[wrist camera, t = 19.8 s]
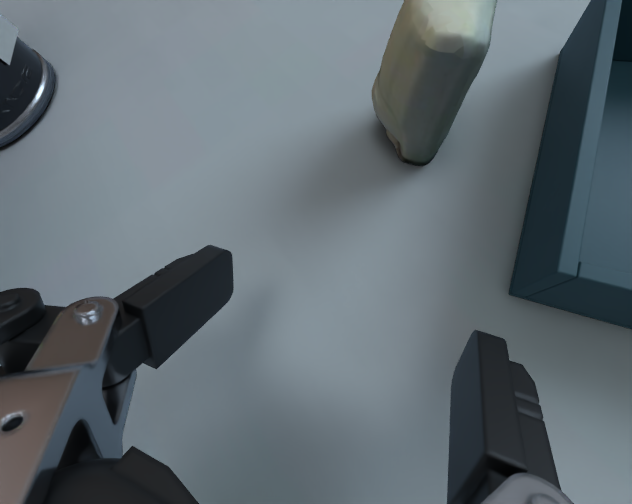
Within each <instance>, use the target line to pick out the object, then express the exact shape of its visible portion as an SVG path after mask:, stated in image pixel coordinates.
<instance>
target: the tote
mask: <svg viewBox="0 0 632 504" xmlns="http://www.w3.org/2000/svg"><path fill="white" fill-rule="evenodd" d="M509 295H512V296H516V297H520V298H523V299H527V300H530V301H534V302H537V303H541V304H544V305H548V306H552V307H555V308H559V309H562V310H566V311H569V312H573V313H576V314H580V315H584V316H587V317H591V318H594V319H598V320H601V321H605V322H608V323H612V324H615V325H619V326H623V327H626V328H630V329H632V0H591V1H590V3H589V5H588V6H587V8H586V10H585V11H584V13H583V15H582V16H581V18H580V20H579V21H578V23H577V25H576V27H575V28H574V30H573V32H572V33H571V35H570V37H569V38H568V40H567V42H566V44H565V45H564V47H563V48H562V50H561V52H560V55H559V60H558V65H557V69H556V74H555V79H554V84H553V88H552V93H551V98H550V102H549V107H548V112H547V116H546V121H545V126H544V130H543V135H542V140H541V145H540V149H539V154H538V159H537V163H536V168H535V173H534V177H533V182H532V187H531V191H530V196H529V201H528V206H527V210H526V215H525V220H524V224H523V229H522V234H521V238H520V243H519V248H518V252H517V257H516V262H515V267H514V271H513V276H512V281H511V285H510V290H509Z"/></svg>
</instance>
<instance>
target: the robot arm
mask: <svg viewBox="0 0 632 504" xmlns="http://www.w3.org/2000/svg"><path fill="white" fill-rule="evenodd" d="M18 31H19V29H18V28H17V27H15V26H14V25H13V24H12V23H11V22H10V21H8V20H7V19H6V18H5V17H4V16H3V15H1V14H0V147H2V146H4V145H6V144H8V143H10V142H12V141H14V140H15V139H17V138H18V137H19V136H21V135H22V134H23V133H25V132H26V131H27V130H28V129H29V128H30V127H31V126H32V125H33V124H34V123H35V122H36V121H37V120H38V118H39V117H40V116H41V114H42V113H43V112H44V110H45V108H46V107H47V105H48V103H49V101H50V99H51V97H52V94H53V91H54V86H55V74H54V70H53V68H52V66H51V64H50V63H49V62H48V61H47V60H45V59H44V58H43V57H42V56H41V55H40V54H38V53H37V52H36V51H35V50H33V49H31V48H29V47H28V46H27V45H26V44H25V43H24V42H23V41H21V40H20V39H19V38H18V37H17V35H18ZM232 293H233V263H232V254H231V252H230V251H228V250H225V249H222V248H218V247H215V246H212V245H208V246H206V247H204V248H203V249H201V250H199V251H198V252H196V253H195V254H191V255H188V256H185V257H182V258H179V259H176V260H175V261H173V262H172V263H170V264H168V265H167V266H165V268H164V269H163V268H162V269H160V270H159V271H157V272H156V273H155V274H154V275H151V276H149V277H148V278H146V279H144V280H143V281H141V282H139V283H138V284H136V285H135V286H133V287H131V288H130V289H128V290H127V291H125V292H123V293H122V294H120V295H119V296H117V297H115V298H114V299H112V298H109V297H101V296H100V297H90V298H85V299H82V300H79V301H76V302H74V303H72V304H70V305H69V306H67V307H58V306H48V305H44V303H43V301H42V298H41V296H40V294H39V292H38V291H36V290H34V289H30V288H16V289H10V290H6V291H2V292H0V364H1V367H0V504H199V503H198V502H197V501H196V500H195V498H194V497H193V496H192V495H191V493H190V492H189V491H188V490H187V489H186V487H185V486H184V485H183V484H182V482H181V481H180V480H179V479H178V478H177V476H176V475H175V474H174V473H173V471H172V470H171V469H170V468H169V467H168V466H166V465H164V464H163V463H161V462H159V461H158V460H156V459H154V458H152V457H151V456H149V455H147V454H145V453H144V452H142V451H140V450H139V449H137V448H135V447H133V446H132V447H131V448H130V449H129V450H128V451H127V452H126V453H125V454H124V455H123V447H122V436H123V430H124V426H125V421H126V417H127V413H128V409H129V405H130V401H131V397H132V393H133V389H134V385H135V381H136V376H137V371H136V368H137V367H138V366H139V365H141V364H142V363H144V364H146V365H148V366H151V367H153V368H155V369H157V368H158V367H159V366H160V365H162V364H163V363H164V362H165V361H166V360H167V359H168V358H169V357H170V356H171V355H172V354H173V353H174V352H175V351H176V350H177V349H179V348H180V347H181V346H182V345H183V344H184V343H185V342H186V341H187V340H188V339H189V338H190V337H191V336H192V335H193V334H195V333H196V332H197V331H198V330H199V329H200V328H201V327H202V326H203V325H204V324H205V323H206V322H207V321H208V320H209V319H210V318H212V317H213V316H214V315H215V314H216V313H217V312H218V311H219V310H220V309H221V308H222V307H223V306H224V305H225V304H226V303H227V302H228V301H229V299H230V298H231V295H232ZM447 504H574V503H573V502H572V501H571V500H570V499H569V498H568V497H567V496H566V495H565V494H564V493H563V492H562V491H561V488H560V485H559V481H558V476H557V472H556V468H555V464H554V460H553V456H552V452H551V448H550V443H549V439H548V435H547V431H546V427H545V423H544V421H543V414H542V410H541V406H540V405H539V398H538V394H537V390H536V386H535V383H534V381H533V380H532V378H531V377H530V375H529V374H528V372H527V371H526V369H525V368H524V366H523V365H522V364H519V363H516V362H513V361H510V360H509V356H508V350H507V344H506V341H505V339H503V338H500V337H497V336H494V335H491V334H487V333H484V332H481V331H478V330H474V331H473V332H472V334H471V336H470V338H469V340H468V342H467V345H466V347H465V349H464V351H463V353H462V355H461V357H460V359H459V362H458V364H457V366H456V368H455V371H454V375H453V379H452V385H451V407H450V435H449V464H448V492H447Z"/></svg>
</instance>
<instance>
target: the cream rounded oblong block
mask: <svg viewBox="0 0 632 504" xmlns="http://www.w3.org/2000/svg"><path fill="white" fill-rule="evenodd" d="M496 3H497V0H404V3H403V5H402V7H401V9H400V11H399V14H398V16H397V19H396V22H395V24H394V27H393V30H392V32H391V35H390V38H389V41H388V44H387V47H386V50H385V53H384V55H383V58H382V63H381V68H380V71H379V73H378V75H377V77H376V79H375V82H374V85H373V88H372V101H373V106H374V110H375V113H376V115H377V117H378V118H379V120H380V121H381V122H382V124H383V125H384V126H385V128H386V134H387V136H388V138H389V139H390V140H391V141H392V142H393V144H394V145H395V147H396V152H397V155H398V157H399V158H400V159H401V161H403V162H406V163H409V164H413V165H418V166H423V165H426V164H428V163H430V161H431V160H432V159H433V158H434V156H435V155H436V153H437V152H438V149H439V148H440V146H441V144H442V143H443V141H444V139H445V138H446V136H447V135H448V133H449V130H450V128H451V125H452V123H453V121H454V119H455V117H456V115H457V112H458V110H459V108H460V106H461V104H462V102H463V100H464V98H465V95H466V93H467V91H468V90H469V88H470V86H471V84H472V82H473V80H474V79H475V77H476V76H477V74H478V72H479V70H480V68H481V66H482V63H483V61H484V59H485V56H486V54H487V52H488V49H489V46H490V40H491V31H492V24H493V18H494V13H495V8H496Z"/></svg>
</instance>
